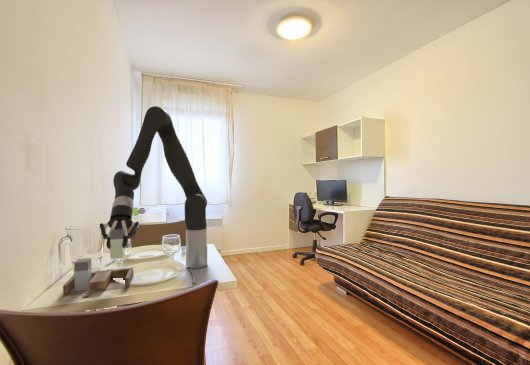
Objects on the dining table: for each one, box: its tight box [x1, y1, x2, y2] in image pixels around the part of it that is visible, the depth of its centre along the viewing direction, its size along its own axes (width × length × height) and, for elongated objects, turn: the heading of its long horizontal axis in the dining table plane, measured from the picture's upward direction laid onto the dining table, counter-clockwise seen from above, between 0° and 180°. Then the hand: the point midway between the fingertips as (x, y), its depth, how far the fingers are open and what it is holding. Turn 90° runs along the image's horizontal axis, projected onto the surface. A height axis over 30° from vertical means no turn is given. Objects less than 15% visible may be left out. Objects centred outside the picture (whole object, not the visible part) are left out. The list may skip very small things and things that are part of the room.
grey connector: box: [73, 257, 92, 291], centre depth 91 cm, size 4×4×10 cm
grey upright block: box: [109, 229, 126, 260], centre depth 94 cm, size 4×4×10 cm
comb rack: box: [62, 267, 134, 297], centre depth 93 cm, size 20×11×4 cm, turn 110°
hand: (116, 247), depth 92 cm, fingers closed on grey upright block, 4 cm apart
